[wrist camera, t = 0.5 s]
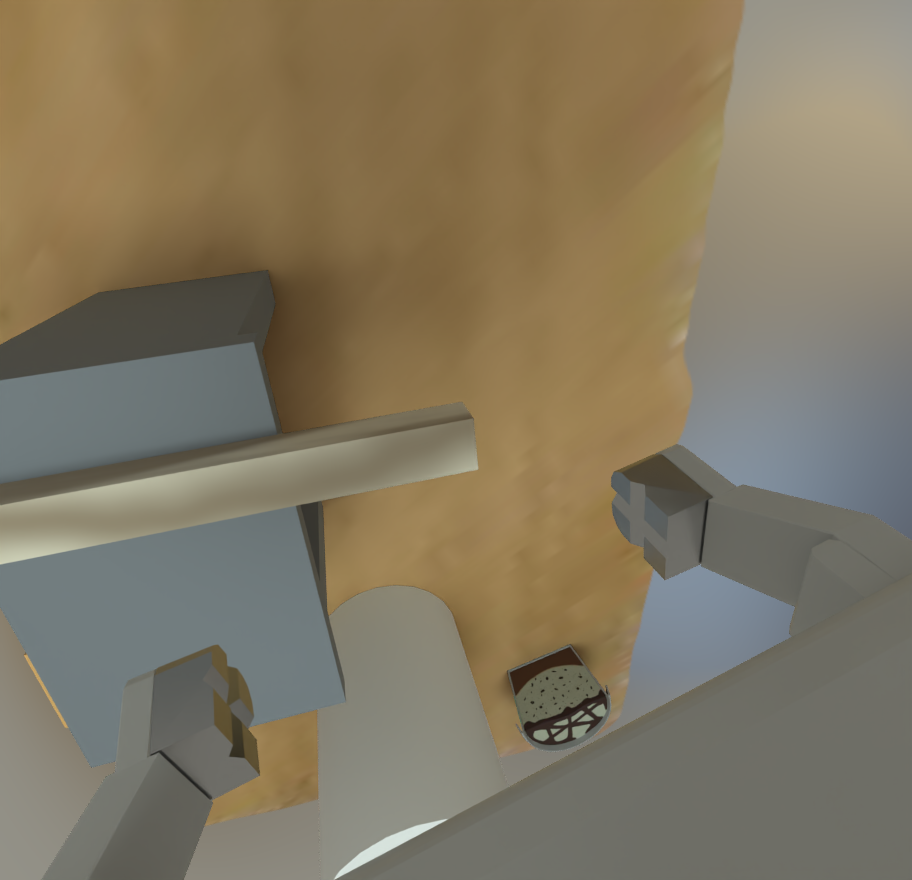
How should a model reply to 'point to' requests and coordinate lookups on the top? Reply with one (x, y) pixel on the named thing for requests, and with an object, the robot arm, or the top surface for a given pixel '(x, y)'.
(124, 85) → the top surface
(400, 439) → the bar
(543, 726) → the food container
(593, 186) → the top surface
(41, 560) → the grey step stool
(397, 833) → the white stepped pillar
